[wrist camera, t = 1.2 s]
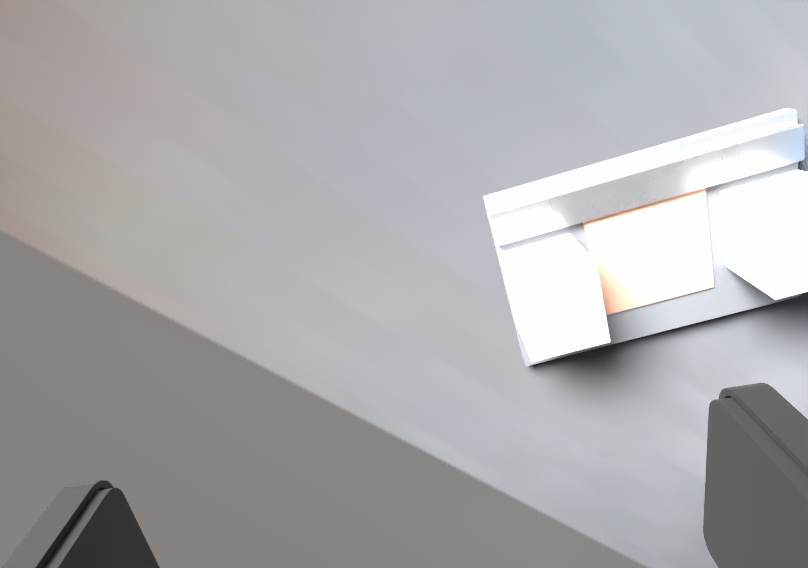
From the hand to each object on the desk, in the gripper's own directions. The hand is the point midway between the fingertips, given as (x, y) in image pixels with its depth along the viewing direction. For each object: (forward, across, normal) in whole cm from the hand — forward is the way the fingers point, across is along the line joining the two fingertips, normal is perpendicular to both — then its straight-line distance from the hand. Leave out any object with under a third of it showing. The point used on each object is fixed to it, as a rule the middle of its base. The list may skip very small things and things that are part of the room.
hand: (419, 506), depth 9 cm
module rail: (+27, -14, +7) cm, 31 cm away
